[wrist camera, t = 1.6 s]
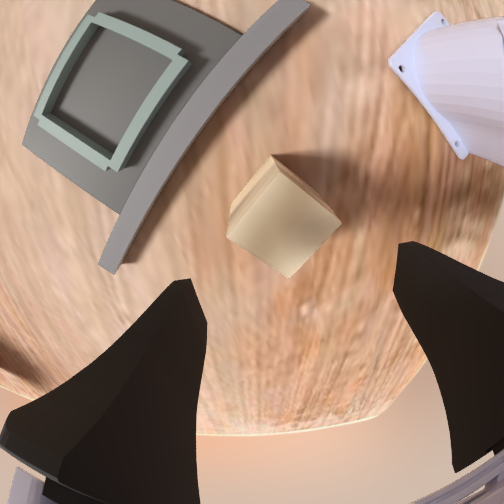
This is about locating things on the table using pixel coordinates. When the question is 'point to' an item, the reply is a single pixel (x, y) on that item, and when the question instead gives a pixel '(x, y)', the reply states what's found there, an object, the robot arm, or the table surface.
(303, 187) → the block
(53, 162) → the keeper cradle
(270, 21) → the rail
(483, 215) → the table surface
